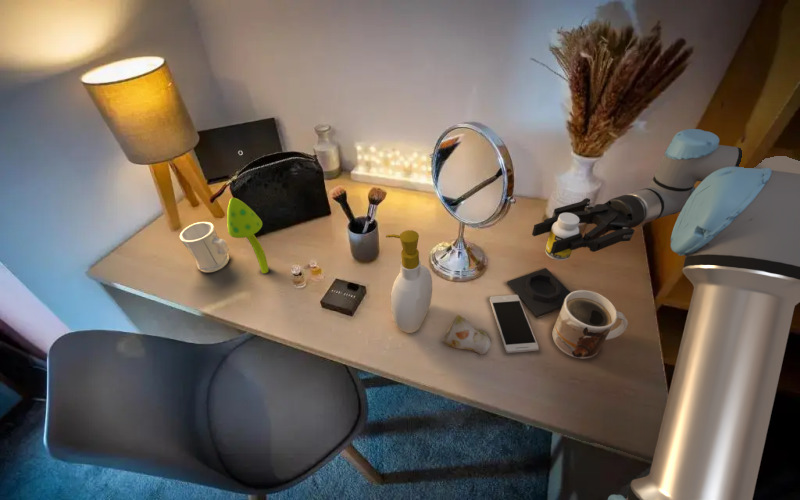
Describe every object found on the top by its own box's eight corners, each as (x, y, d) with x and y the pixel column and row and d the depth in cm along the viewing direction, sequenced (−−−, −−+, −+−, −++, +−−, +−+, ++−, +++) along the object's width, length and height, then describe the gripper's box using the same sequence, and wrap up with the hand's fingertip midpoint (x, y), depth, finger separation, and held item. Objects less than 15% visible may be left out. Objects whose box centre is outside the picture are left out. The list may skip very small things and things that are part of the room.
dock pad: (577, 302, 86) (580, 294, 84) (536, 318, 83) (538, 310, 81) (545, 270, 94) (547, 262, 92) (506, 283, 91) (508, 275, 89)
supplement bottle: (545, 259, 77) (555, 224, 70) (544, 243, 81) (553, 209, 74) (571, 262, 76) (585, 227, 69) (569, 246, 79) (581, 211, 73)
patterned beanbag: (488, 367, 74) (467, 343, 69) (452, 356, 81) (430, 334, 76) (500, 336, 78) (481, 311, 72) (464, 329, 85) (444, 306, 79)
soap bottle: (405, 291, 91) (399, 210, 74) (438, 300, 88) (440, 218, 71) (382, 335, 81) (369, 253, 64) (418, 347, 79) (415, 265, 61)
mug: (564, 312, 84) (578, 280, 76) (618, 340, 77) (638, 309, 70) (544, 341, 78) (556, 310, 71) (599, 374, 72) (619, 343, 64)
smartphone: (517, 296, 88) (518, 294, 87) (538, 350, 76) (539, 348, 76) (488, 298, 88) (489, 296, 87) (506, 353, 76) (506, 351, 76)
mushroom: (246, 282, 97) (208, 208, 80) (254, 261, 103) (220, 189, 86) (276, 280, 97) (244, 206, 80) (282, 259, 103) (254, 186, 86)
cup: (234, 247, 109) (219, 216, 101) (237, 265, 102) (220, 234, 94) (198, 258, 106) (179, 227, 98) (199, 277, 99) (178, 246, 91)
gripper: (659, 248, 74) (569, 281, 69) (593, 203, 87) (514, 228, 82) (676, 219, 69) (580, 253, 64) (604, 176, 82) (519, 201, 77)
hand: (543, 239), depth 73 cm, fingers closed on supplement bottle, 5 cm apart
